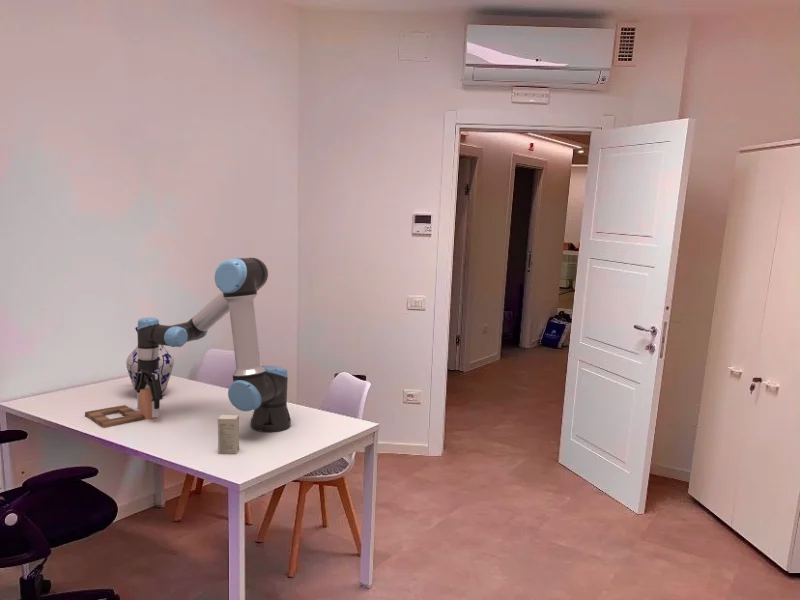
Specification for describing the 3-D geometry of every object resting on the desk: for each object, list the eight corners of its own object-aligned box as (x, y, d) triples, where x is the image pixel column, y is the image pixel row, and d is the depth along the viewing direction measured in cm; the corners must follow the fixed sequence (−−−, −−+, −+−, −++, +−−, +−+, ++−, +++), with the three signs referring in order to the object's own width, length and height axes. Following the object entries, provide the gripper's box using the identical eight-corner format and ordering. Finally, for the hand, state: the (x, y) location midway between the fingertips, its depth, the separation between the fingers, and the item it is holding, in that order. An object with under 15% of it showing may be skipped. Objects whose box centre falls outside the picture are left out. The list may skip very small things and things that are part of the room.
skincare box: (239, 449, 206) (240, 414, 204) (236, 454, 201) (237, 418, 200) (220, 448, 205) (220, 414, 204) (217, 453, 201) (217, 418, 200)
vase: (174, 400, 256) (174, 331, 252) (125, 403, 249) (124, 332, 245) (173, 388, 274) (173, 323, 270) (127, 391, 267) (127, 324, 263)
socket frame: (144, 419, 230) (144, 416, 230) (103, 428, 220) (103, 424, 219) (124, 408, 243) (124, 404, 242) (85, 415, 232) (84, 411, 232)
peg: (156, 417, 234) (156, 390, 232) (145, 419, 230) (145, 392, 229) (151, 414, 237) (151, 387, 235) (140, 417, 233) (139, 389, 232)
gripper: (172, 362, 225) (172, 418, 228) (144, 351, 242) (144, 403, 244) (152, 365, 220) (152, 422, 222) (125, 353, 236) (125, 406, 239)
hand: (148, 412), depth 233 cm, fingers open, 12 cm apart
